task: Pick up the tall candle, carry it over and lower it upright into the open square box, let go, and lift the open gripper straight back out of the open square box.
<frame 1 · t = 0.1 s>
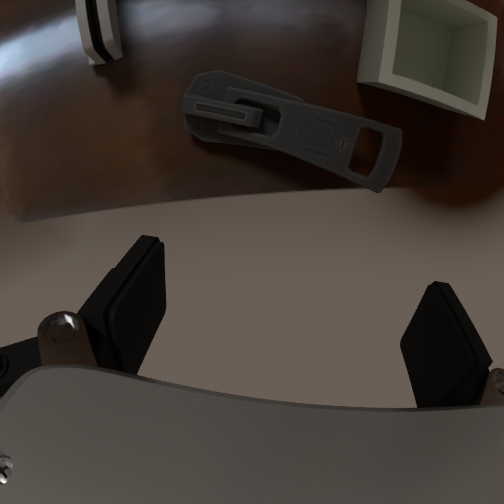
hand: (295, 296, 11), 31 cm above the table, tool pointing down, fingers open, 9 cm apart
grey piece: (110, 8, 30), on the table
open square box: (410, 50, 30), on the table
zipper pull: (287, 121, 37), on the table
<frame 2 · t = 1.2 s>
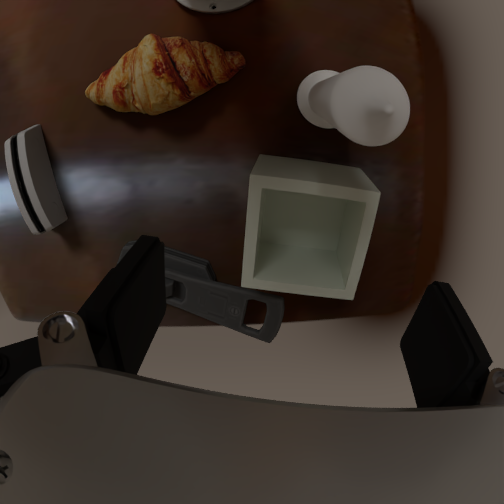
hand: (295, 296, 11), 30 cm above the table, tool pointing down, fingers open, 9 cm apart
grey piece: (49, 173, 42), on the table
open square box: (304, 207, 40), on the table
croissant: (163, 74, 34), on the table
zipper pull: (200, 277, 48), on the table
candle: (326, 99, 34), on the table
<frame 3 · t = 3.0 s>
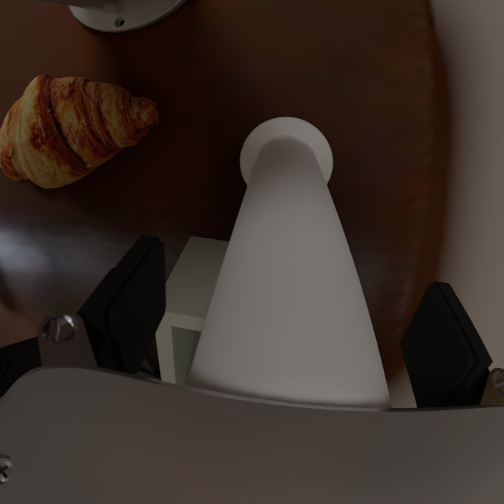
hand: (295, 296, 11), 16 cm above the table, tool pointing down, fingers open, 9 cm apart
open square box: (251, 301, 31), on the table
croissant: (66, 124, 24), on the table
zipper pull: (141, 355, 38), on the table
candle: (286, 160, 24), on the table
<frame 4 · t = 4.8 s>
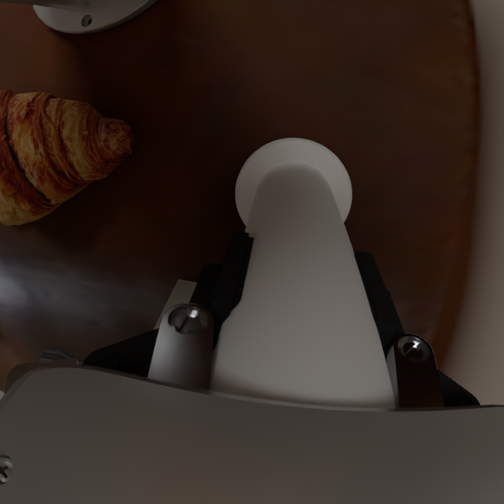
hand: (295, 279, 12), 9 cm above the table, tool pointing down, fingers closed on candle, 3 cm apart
open square box: (250, 350, 27), on the table
croissant: (34, 147, 20), on the table
candle: (293, 192, 20), on the table, touching gripper
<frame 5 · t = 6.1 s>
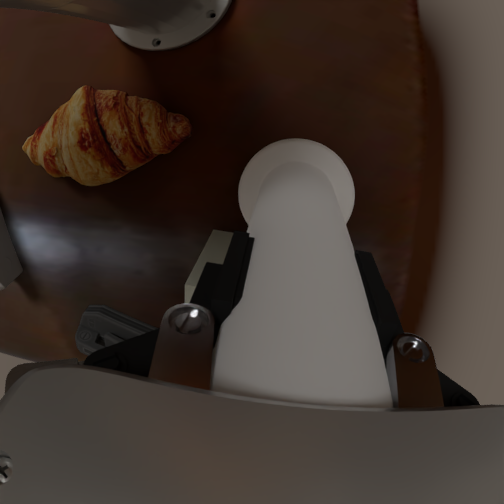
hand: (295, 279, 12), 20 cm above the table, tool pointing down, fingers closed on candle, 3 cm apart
grey piece: (2, 222, 37), on the table
open square box: (264, 289, 36), on the table
croissant: (104, 131, 29), on the table
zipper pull: (164, 346, 43), on the table
candle: (296, 193, 20), point 10 cm above the table, touching gripper
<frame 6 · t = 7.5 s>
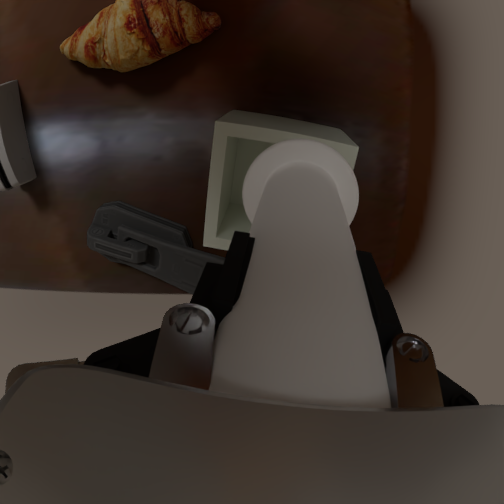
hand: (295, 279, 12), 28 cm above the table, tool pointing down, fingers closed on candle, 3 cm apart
grey piece: (22, 129, 37), on the table
open square box: (278, 168, 37), on the table
croissant: (139, 32, 30), on the table
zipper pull: (176, 244, 45), on the table
candle: (300, 193, 20), point 18 cm above the table, touching gripper
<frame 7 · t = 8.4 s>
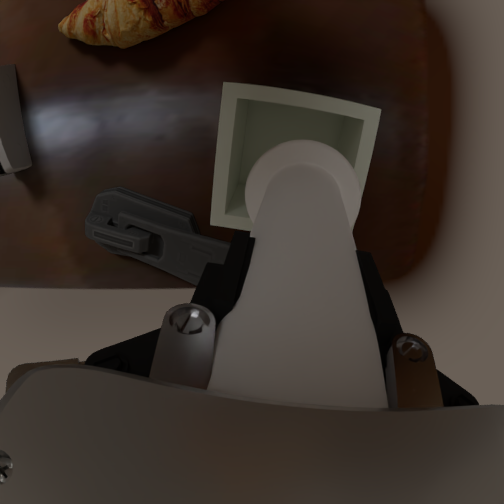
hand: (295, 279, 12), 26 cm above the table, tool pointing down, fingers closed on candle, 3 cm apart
grey piece: (18, 115, 34), on the table
open square box: (290, 145, 34), on the table
croissant: (141, 8, 27), on the table
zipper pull: (182, 233, 41), on the table
candle: (303, 194, 20), point 16 cm above the table, touching gripper
when the fingers open (12 cm above the table, at t = 11.5 s): candle drops 1 cm, resting on open square box.
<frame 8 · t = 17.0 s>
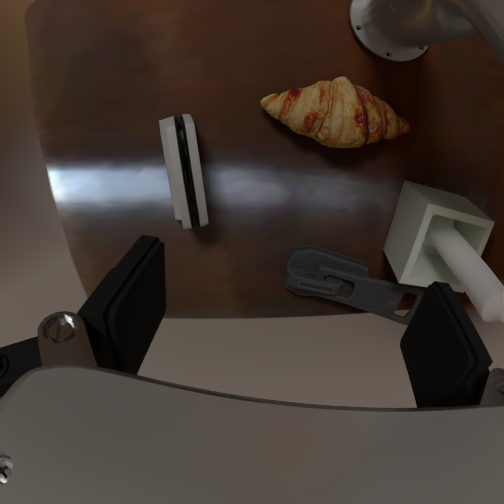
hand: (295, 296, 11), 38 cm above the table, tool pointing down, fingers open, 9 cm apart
grey piece: (190, 166, 48), on the table
open square box: (425, 223, 48), on the table
croissant: (335, 110, 42), on the table
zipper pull: (353, 276, 55), on the table
candle: (434, 225, 47), point 1 cm above the table, touching open square box
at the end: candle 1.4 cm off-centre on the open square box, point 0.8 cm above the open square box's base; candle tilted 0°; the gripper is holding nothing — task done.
